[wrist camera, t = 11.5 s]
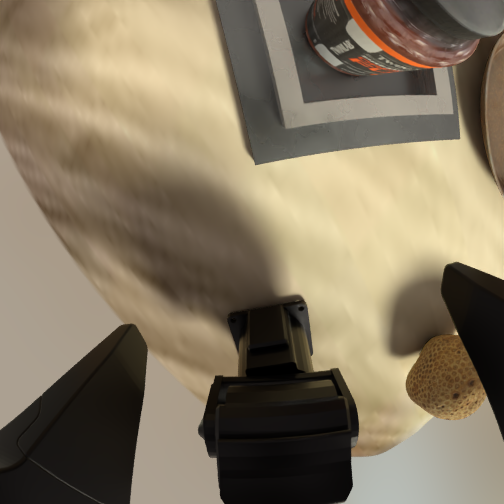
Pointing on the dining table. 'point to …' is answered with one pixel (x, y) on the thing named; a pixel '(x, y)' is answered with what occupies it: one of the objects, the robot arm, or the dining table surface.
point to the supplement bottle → (399, 33)
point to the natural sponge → (445, 379)
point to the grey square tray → (324, 90)
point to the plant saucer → (494, 112)
